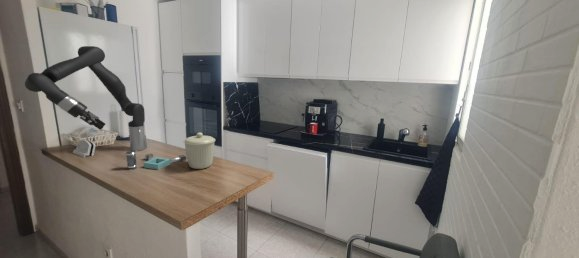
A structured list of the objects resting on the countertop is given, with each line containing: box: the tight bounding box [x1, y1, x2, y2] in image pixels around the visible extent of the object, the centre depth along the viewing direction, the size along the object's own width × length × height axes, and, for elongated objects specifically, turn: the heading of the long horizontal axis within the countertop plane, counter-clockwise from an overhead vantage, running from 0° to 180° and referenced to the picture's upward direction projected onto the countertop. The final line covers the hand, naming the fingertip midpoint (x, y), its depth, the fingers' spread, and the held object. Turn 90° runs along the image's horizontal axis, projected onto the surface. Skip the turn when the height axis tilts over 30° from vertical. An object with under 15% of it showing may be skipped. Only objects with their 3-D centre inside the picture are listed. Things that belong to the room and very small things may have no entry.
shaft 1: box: [144, 153, 155, 161], centre depth 150 cm, size 12×4×3 cm, turn 47°
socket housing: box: [143, 156, 172, 171], centre depth 143 cm, size 10×10×3 cm
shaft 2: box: [169, 154, 187, 164], centre depth 150 cm, size 12×4×3 cm, turn 137°
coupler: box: [125, 150, 138, 171], centre depth 136 cm, size 5×5×10 cm
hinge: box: [72, 139, 96, 158], centre depth 157 cm, size 17×5×10 cm, turn 61°
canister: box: [182, 132, 216, 170], centre depth 143 cm, size 18×18×21 cm
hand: (103, 126), depth 130 cm, fingers open, 8 cm apart
